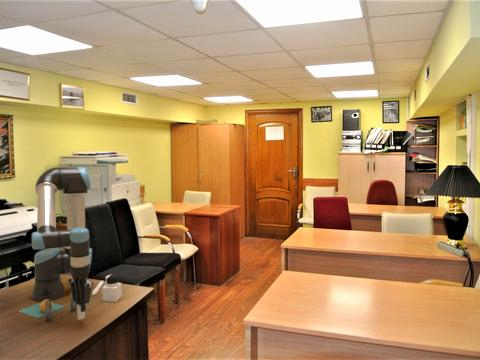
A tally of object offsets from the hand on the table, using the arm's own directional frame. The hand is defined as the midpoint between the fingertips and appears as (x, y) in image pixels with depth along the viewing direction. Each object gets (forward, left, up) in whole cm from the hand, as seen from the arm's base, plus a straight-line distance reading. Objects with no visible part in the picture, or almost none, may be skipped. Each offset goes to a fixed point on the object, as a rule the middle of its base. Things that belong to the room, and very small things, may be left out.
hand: (81, 318), depth 167 cm
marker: (-24, +30, -3) cm, 39 cm away
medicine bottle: (-8, +25, -2) cm, 26 cm away
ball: (-23, 0, +1) cm, 23 cm away
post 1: (-13, -6, -2) cm, 15 cm away
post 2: (-13, +6, -2) cm, 15 cm away
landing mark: (-27, 0, -2) cm, 27 cm away
